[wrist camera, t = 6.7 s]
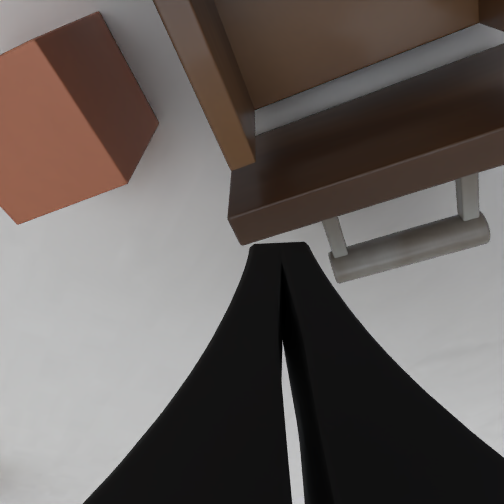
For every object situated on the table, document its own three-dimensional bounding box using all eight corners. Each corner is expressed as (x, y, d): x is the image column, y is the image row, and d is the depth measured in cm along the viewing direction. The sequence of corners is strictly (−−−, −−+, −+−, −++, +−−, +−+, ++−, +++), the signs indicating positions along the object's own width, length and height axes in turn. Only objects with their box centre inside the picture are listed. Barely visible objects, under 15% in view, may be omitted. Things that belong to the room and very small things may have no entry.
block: (159, 123, 17) (128, 184, 13) (73, 158, 18) (17, 225, 14) (99, 10, 14) (33, 38, 10) (2, 58, 15) (-96, 102, 11)
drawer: (506, 181, 18) (595, 262, 13) (278, 249, 20) (287, 338, 16) (522, -612, 7) (960, -1511, 3) (51, -277, 10) (-123, -470, 5)
